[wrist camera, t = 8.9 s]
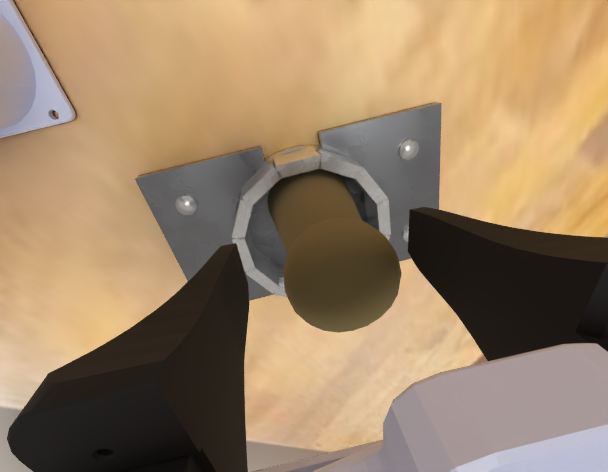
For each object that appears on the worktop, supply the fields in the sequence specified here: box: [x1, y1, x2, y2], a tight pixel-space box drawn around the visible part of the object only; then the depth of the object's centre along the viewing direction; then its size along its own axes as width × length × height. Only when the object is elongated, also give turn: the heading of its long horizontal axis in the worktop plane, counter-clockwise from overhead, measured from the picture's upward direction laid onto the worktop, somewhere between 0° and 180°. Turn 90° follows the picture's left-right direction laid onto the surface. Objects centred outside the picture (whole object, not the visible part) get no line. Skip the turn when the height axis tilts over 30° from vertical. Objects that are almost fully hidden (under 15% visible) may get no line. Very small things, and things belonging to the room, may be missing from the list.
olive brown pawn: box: [268, 169, 401, 332], centre depth 16 cm, size 6×6×11 cm
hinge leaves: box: [135, 103, 441, 301], centre depth 21 cm, size 21×12×4 cm, turn 102°
